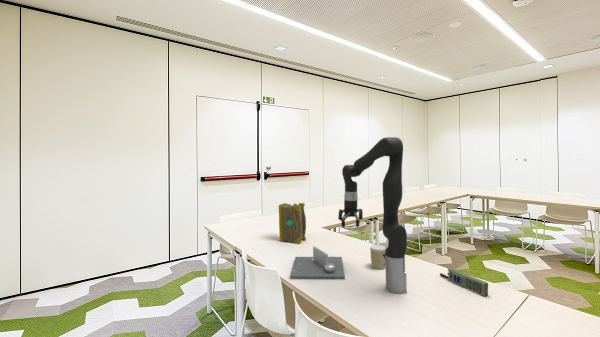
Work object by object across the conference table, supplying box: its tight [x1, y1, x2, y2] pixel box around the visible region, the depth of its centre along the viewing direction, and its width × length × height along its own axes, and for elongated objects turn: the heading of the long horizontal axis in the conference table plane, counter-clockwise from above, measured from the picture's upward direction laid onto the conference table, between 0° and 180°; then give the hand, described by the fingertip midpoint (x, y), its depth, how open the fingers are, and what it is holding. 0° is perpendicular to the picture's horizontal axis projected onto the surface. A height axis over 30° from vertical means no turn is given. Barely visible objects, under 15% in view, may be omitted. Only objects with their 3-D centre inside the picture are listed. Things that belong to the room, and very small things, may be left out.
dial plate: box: [289, 256, 346, 280], centre depth 169 cm, size 30×30×2 cm
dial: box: [312, 246, 335, 272], centre depth 168 cm, size 22×6×8 cm, turn 25°
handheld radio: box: [439, 267, 489, 298], centre depth 142 cm, size 7×3×25 cm
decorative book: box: [278, 202, 307, 245], centre depth 224 cm, size 20×11×30 cm, turn 63°
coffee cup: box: [369, 244, 387, 271], centre depth 168 cm, size 9×9×12 cm
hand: (350, 227), depth 164 cm, fingers open, 8 cm apart
